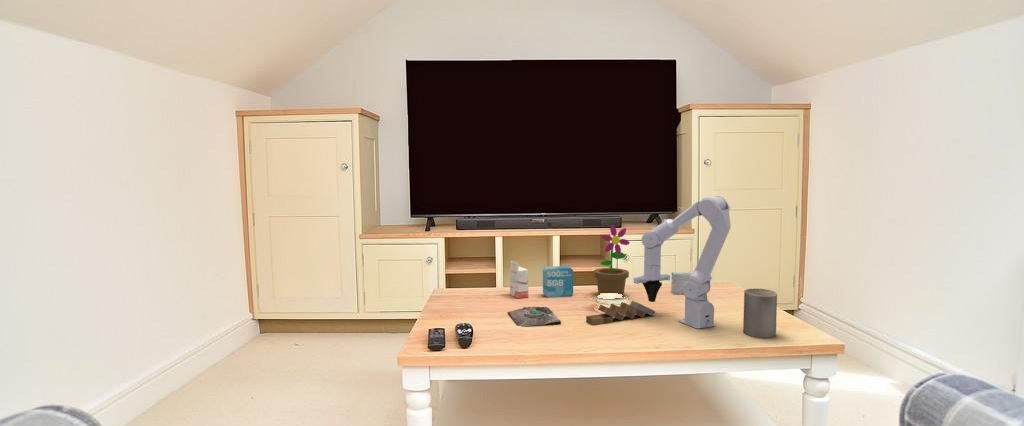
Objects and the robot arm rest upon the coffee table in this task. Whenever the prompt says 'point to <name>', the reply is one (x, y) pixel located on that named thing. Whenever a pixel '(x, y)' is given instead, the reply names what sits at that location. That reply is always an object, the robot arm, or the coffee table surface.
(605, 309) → the tile
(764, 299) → the pillar candle
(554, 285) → the data package
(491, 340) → the coffee table surface
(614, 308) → the tile
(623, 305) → the tile
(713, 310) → the robot arm
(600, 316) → the tile
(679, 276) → the medicine box
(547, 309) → the terrain model
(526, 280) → the ink cartridge box
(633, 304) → the tile
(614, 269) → the flowerpot
